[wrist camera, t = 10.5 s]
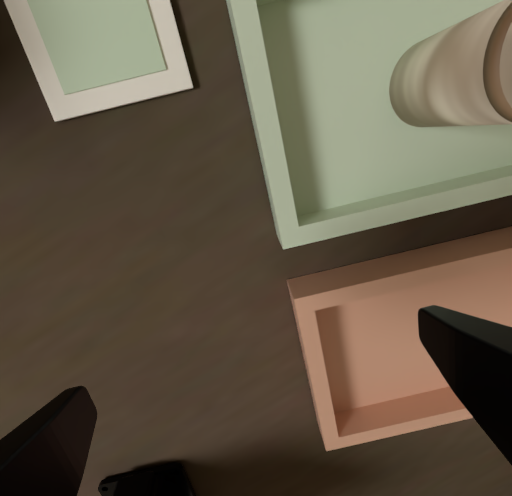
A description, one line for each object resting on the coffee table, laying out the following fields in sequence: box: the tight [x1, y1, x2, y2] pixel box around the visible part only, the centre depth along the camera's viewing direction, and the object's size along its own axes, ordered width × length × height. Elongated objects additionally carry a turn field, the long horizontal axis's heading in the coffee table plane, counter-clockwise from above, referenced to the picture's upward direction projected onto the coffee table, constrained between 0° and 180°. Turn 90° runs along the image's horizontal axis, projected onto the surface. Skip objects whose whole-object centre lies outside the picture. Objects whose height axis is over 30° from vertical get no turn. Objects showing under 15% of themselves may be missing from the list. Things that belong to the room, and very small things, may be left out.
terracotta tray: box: [287, 226, 512, 451], centre depth 20 cm, size 12×18×2 cm, turn 103°
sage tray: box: [226, 0, 512, 249], centre depth 15 cm, size 12×18×2 cm, turn 103°
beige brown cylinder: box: [389, 0, 512, 127], centre depth 13 cm, size 4×4×7 cm
